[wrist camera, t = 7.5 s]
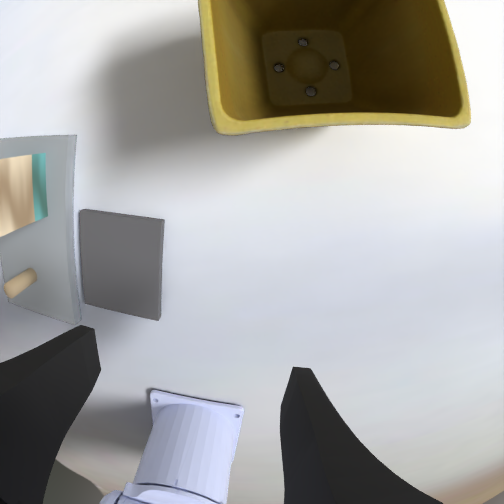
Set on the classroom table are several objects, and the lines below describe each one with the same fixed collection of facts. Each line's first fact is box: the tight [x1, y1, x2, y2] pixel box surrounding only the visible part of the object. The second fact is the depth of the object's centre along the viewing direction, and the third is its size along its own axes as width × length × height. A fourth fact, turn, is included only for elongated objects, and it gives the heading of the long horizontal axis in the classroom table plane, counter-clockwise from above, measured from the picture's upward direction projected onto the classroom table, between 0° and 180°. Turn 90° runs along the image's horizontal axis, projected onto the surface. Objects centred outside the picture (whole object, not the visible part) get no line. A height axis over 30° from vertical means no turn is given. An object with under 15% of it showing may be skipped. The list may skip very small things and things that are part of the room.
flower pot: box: [198, 0, 471, 135], centre depth 11 cm, size 9×9×9 cm
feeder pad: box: [80, 209, 164, 321], centre depth 19 cm, size 7×6×1 cm
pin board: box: [0, 135, 81, 325], centre depth 17 cm, size 14×8×4 cm, turn 172°
